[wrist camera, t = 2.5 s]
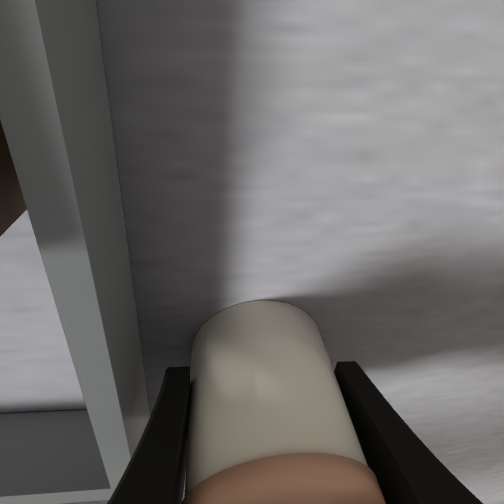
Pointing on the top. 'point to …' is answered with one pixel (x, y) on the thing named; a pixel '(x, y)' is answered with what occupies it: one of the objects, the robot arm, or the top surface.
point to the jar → (270, 414)
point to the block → (9, 188)
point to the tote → (71, 253)
